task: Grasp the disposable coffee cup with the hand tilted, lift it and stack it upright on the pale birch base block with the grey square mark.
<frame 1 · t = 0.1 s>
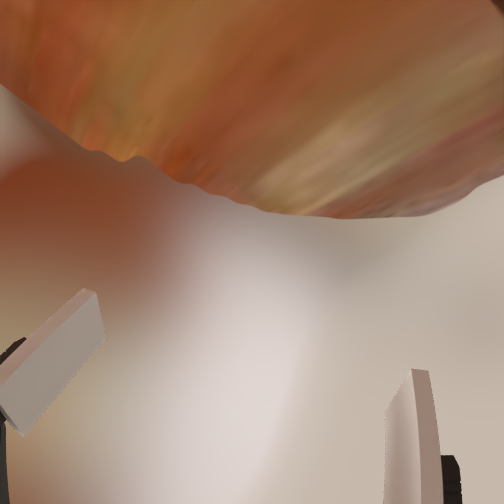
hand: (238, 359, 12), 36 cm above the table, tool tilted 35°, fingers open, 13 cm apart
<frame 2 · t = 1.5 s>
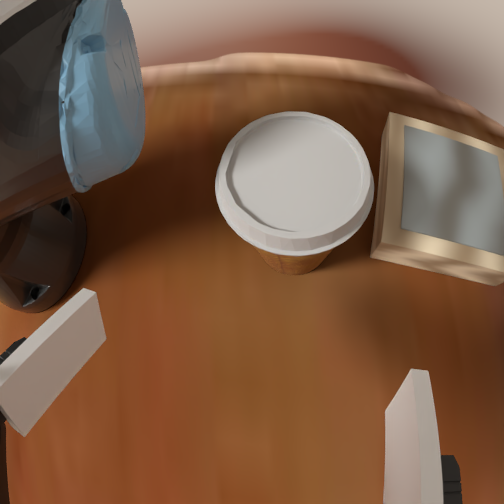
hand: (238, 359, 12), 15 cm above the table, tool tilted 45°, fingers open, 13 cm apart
birch base block: (441, 206, 28), on the table
disposable coffee cup: (293, 241, 29), on the table
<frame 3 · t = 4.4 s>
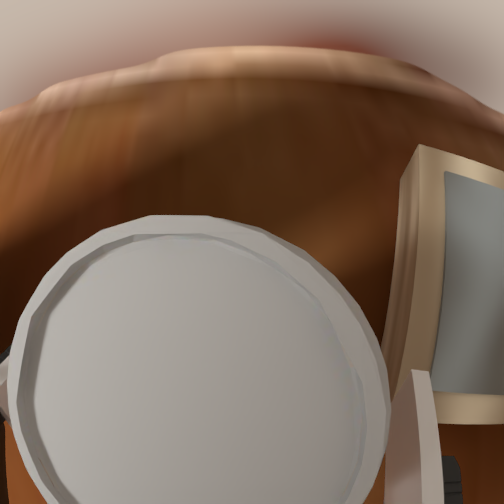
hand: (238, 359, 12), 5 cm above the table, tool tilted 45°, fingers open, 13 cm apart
birch base block: (487, 303, 16), on the table
disposable coffee cup: (242, 381, 17), on the table
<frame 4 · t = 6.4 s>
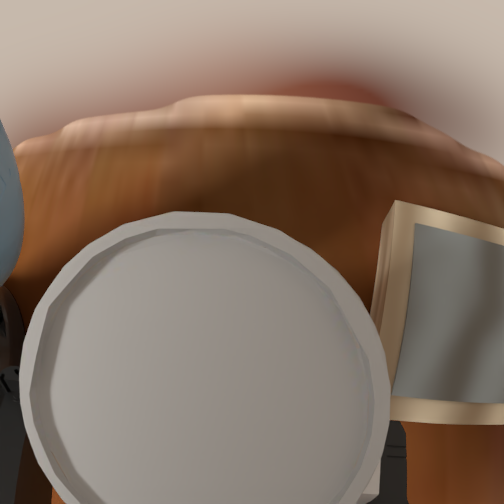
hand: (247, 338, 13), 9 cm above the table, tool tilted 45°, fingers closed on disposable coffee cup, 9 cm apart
birch base block: (452, 326, 21), on the table
disposable coffee cup: (233, 381, 17), point 5 cm above the table, touching gripper
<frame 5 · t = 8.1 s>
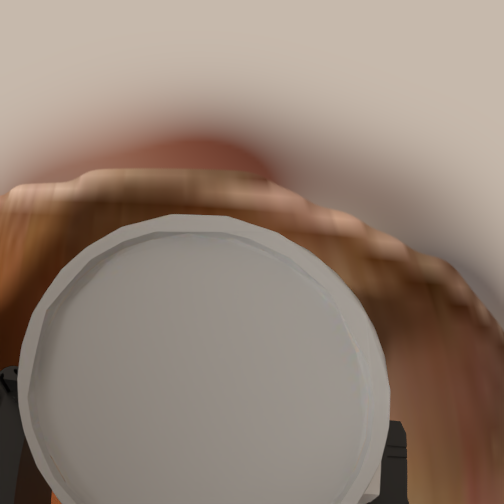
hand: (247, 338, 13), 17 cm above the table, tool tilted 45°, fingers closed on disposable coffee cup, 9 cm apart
disposable coffee cup: (232, 383, 17), point 12 cm above the table, touching gripper
when the fingers open (9 cm above the table, at t = 10.0 s): disposable coffee cup stays where it is, resting on birch base block.
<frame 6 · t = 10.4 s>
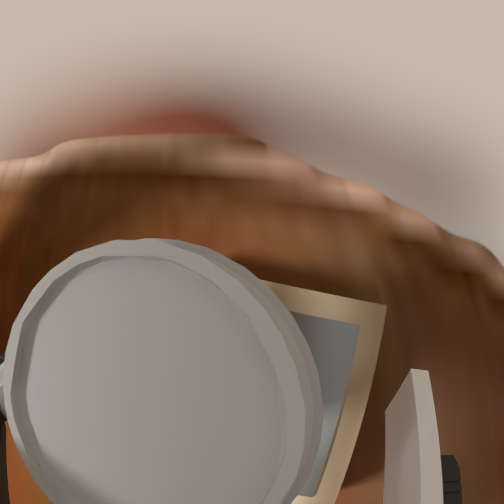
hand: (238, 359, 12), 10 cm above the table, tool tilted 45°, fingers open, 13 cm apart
birch base block: (253, 390, 21), on the table
disposable coffee cup: (221, 382, 18), point 4 cm above the table, touching birch base block
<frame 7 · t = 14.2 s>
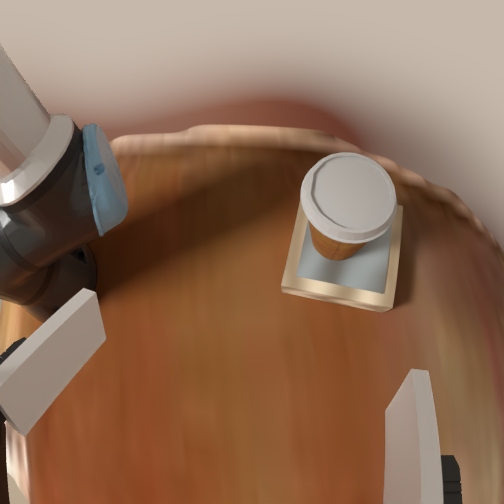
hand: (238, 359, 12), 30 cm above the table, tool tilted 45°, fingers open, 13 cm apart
birch base block: (342, 253, 43), on the table
disposable coffee cup: (335, 237, 40), point 4 cm above the table, touching birch base block
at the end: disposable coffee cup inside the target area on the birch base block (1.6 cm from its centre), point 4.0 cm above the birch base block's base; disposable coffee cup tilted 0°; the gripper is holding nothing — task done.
